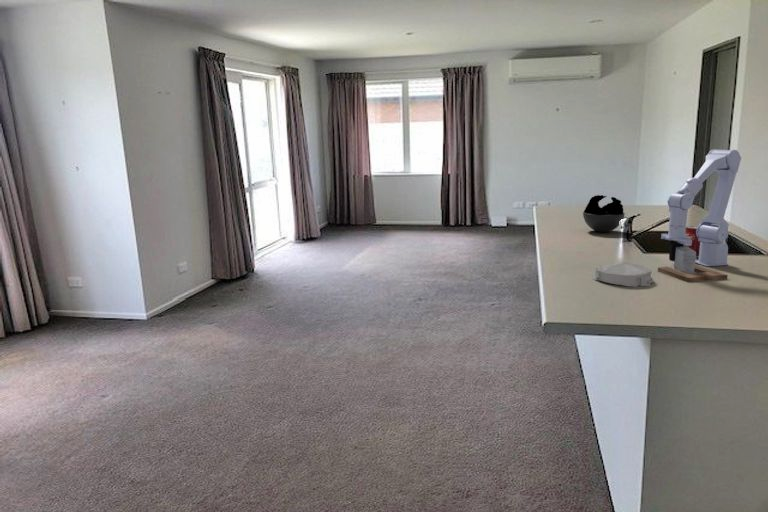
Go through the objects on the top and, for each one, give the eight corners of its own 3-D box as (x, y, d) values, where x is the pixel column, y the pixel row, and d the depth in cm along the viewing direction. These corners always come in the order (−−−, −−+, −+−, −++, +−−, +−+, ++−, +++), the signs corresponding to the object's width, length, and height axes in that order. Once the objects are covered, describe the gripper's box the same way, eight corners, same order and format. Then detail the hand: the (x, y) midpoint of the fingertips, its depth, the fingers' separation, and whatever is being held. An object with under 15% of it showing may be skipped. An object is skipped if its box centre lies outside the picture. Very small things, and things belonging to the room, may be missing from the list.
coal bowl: (578, 228, 310) (580, 193, 306) (617, 228, 307) (620, 193, 303) (586, 235, 291) (588, 197, 286) (627, 235, 288) (630, 197, 284)
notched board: (695, 268, 220) (695, 264, 220) (727, 278, 205) (727, 274, 205) (657, 271, 217) (657, 267, 217) (687, 282, 202) (687, 277, 202)
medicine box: (694, 274, 211) (697, 251, 209) (681, 274, 212) (684, 251, 210) (685, 268, 219) (688, 246, 217) (673, 268, 219) (675, 246, 217)
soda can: (701, 254, 244) (703, 225, 242) (704, 257, 238) (707, 228, 235) (681, 253, 247) (684, 225, 244) (684, 256, 240) (687, 228, 237)
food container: (616, 290, 195) (618, 271, 194) (582, 275, 214) (583, 257, 212) (666, 286, 200) (668, 267, 199) (628, 271, 219) (629, 254, 217)
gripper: (655, 222, 223) (652, 257, 226) (681, 228, 209) (677, 265, 212) (671, 222, 224) (668, 256, 227) (698, 228, 210) (694, 264, 213)
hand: (673, 260), depth 219 cm, fingers closed, pressing on medicine box
